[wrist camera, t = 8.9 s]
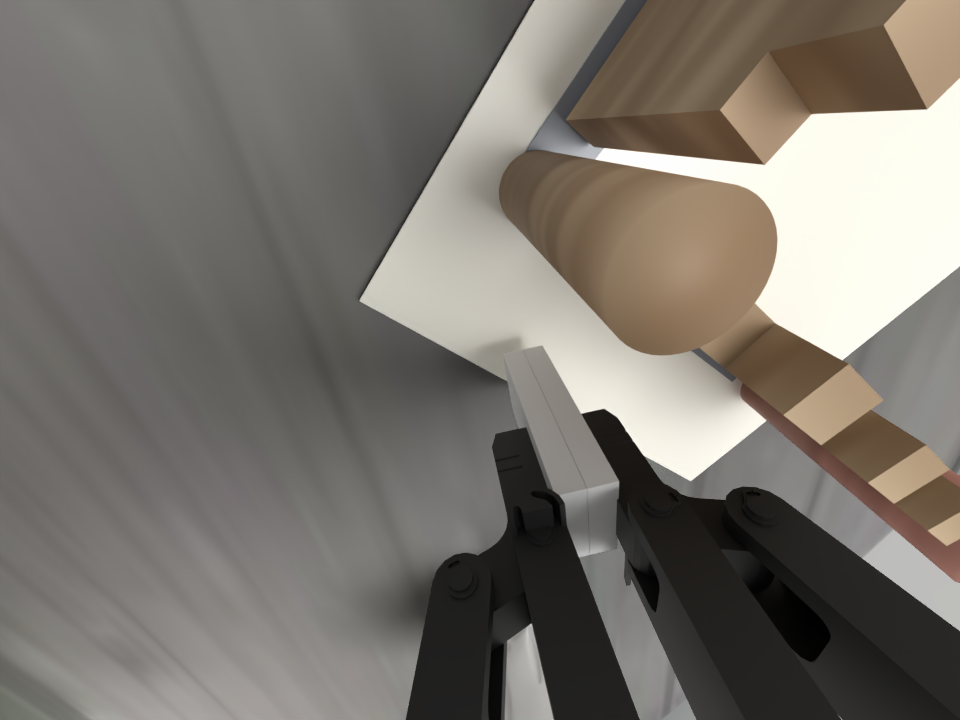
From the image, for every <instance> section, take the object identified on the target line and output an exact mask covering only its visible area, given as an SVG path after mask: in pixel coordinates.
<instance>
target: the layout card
mask: <svg viewBox="0 0 960 720" xmlns="http://www.w3.org/2000/svg"><path fill="white" fill-rule="evenodd" d="M646 1H647V0H534V1H533V3H532V5H531V7H530V8H529V10H528V12H527V13H526V15H525V17H524V19H523V20H522V22H521V24H520V25H519V27H518V29H517V31H516V32H515V34H514V36H513V37H512V39H511V41H510V43H509V44H508V46H507V48H506V49H505V51H504V53H503V55H502V56H501V58H500V60H499V61H498V63H497V65H496V67H495V68H494V70H493V72H492V73H491V75H490V77H489V79H488V80H487V82H486V84H485V85H484V87H483V89H482V91H481V92H480V94H479V96H478V97H477V99H476V101H475V103H474V104H473V106H472V108H471V109H470V111H469V113H468V115H467V116H466V118H465V120H464V121H463V123H462V125H461V127H460V128H459V130H458V132H457V133H456V135H455V137H454V139H453V140H452V142H451V144H450V145H449V147H448V149H447V151H446V152H445V154H444V156H443V157H442V159H441V161H440V163H439V164H438V166H437V168H436V169H435V171H434V173H433V175H432V176H431V178H430V180H429V181H428V183H427V185H426V187H425V188H424V190H423V192H422V193H421V195H420V197H419V199H418V200H417V202H416V204H415V205H414V207H413V209H412V211H411V212H410V214H409V216H408V217H407V219H406V221H405V223H404V224H403V226H402V228H401V229H400V231H399V233H398V235H397V236H396V238H395V240H394V241H393V243H392V245H391V247H390V248H389V250H388V252H387V253H386V255H385V257H384V259H383V260H382V262H381V264H380V265H379V267H378V269H377V271H376V272H375V274H374V276H373V277H372V279H371V281H370V283H369V284H368V286H367V288H366V289H365V291H364V293H363V295H362V296H361V298H360V302H362V303H364V304H366V305H367V306H369V307H371V308H373V309H375V310H377V311H378V312H380V313H382V314H384V315H386V316H388V317H390V318H391V319H393V320H395V321H397V322H399V323H401V324H402V325H404V326H406V327H408V328H410V329H412V330H413V331H415V332H417V333H419V334H421V335H423V336H425V337H426V338H428V339H430V340H432V341H434V342H436V343H437V344H439V345H441V346H443V347H445V348H447V349H448V350H450V351H452V352H454V353H456V354H458V355H459V356H461V357H463V358H465V359H467V360H469V361H471V362H472V363H474V364H476V365H478V366H480V367H482V368H483V369H485V370H487V371H489V372H491V373H493V374H494V375H496V376H498V377H500V378H502V379H504V380H506V381H507V375H506V369H505V363H504V357H503V354H505V353H510V352H514V351H519V350H523V349H528V348H532V347H537V346H541V345H543V347H544V349H545V351H546V352H547V354H548V356H549V358H550V359H551V361H552V363H553V365H554V367H555V368H556V370H557V372H558V374H559V375H560V377H561V379H562V381H563V382H564V384H565V386H566V388H567V390H568V391H569V393H570V395H571V397H572V398H573V400H574V402H575V404H576V406H577V407H578V409H579V411H580V413H581V414H582V413H587V412H591V411H595V410H600V409H606V410H607V411H608V412H610V413H611V414H613V415H614V416H616V417H617V418H618V419H619V420H620V422H621V423H622V425H623V426H624V428H625V429H626V432H628V434H629V435H630V437H631V438H632V440H633V442H635V444H636V445H637V447H638V448H639V450H640V451H641V453H642V454H643V455H644V456H646V457H647V458H649V459H651V460H653V461H655V462H657V463H658V464H660V465H662V466H664V467H666V468H668V469H669V470H671V471H673V472H675V473H677V474H679V475H680V476H682V477H684V478H686V479H688V480H690V481H692V480H693V479H694V478H695V477H697V476H698V475H699V474H700V473H702V472H703V471H704V470H705V469H707V468H708V467H709V466H710V465H712V464H713V463H714V462H715V461H717V460H718V459H719V458H720V457H722V456H723V455H724V454H725V453H727V452H728V451H729V450H730V449H732V448H733V447H734V446H735V445H737V444H738V443H739V442H740V441H742V440H743V439H744V438H745V437H747V436H748V435H749V434H750V433H752V432H753V431H754V430H755V429H757V428H758V427H759V426H760V425H762V424H763V423H764V422H765V421H767V420H766V419H764V418H763V417H762V416H761V415H760V414H759V413H757V412H756V411H755V410H754V409H753V408H752V407H750V406H749V405H748V404H747V403H746V402H744V401H743V400H742V398H741V395H740V390H741V386H742V384H743V383H742V382H741V381H740V380H739V379H737V378H736V377H735V376H734V375H732V374H731V373H730V372H729V371H727V370H726V369H725V368H724V367H722V366H721V365H720V364H719V363H717V362H716V361H715V360H714V359H712V358H711V357H710V356H709V355H707V354H706V353H705V352H704V351H702V350H701V349H700V348H697V349H694V350H691V351H688V352H684V353H680V354H674V355H661V356H660V355H650V354H645V353H641V352H639V351H636V350H634V349H632V348H630V347H629V346H627V345H626V344H624V343H623V342H622V341H621V340H620V339H619V338H618V337H617V336H616V335H615V334H614V333H613V332H612V331H611V330H610V329H609V327H608V326H607V325H606V324H605V323H604V322H603V321H602V320H601V319H600V318H599V317H598V316H597V314H596V313H595V312H594V311H593V310H592V309H591V308H590V307H589V306H588V305H587V304H586V302H585V301H584V300H583V299H582V298H581V297H580V296H579V295H578V294H577V293H576V292H575V291H574V289H573V288H572V287H571V286H570V285H569V284H568V283H567V282H566V281H565V280H564V279H563V277H562V276H561V275H560V274H559V273H558V272H557V271H556V270H555V269H554V268H553V267H552V266H551V264H550V263H549V262H548V261H547V260H546V259H545V258H544V257H543V256H542V255H541V254H540V252H539V251H538V250H537V249H536V248H535V247H534V246H533V245H532V244H531V243H530V242H529V241H528V239H527V238H526V237H525V236H524V235H523V234H522V233H521V232H520V231H519V230H518V229H517V227H516V226H515V225H514V224H513V223H512V222H511V221H510V220H509V219H508V218H507V216H506V215H505V213H504V212H503V210H502V207H501V204H500V200H499V186H500V182H501V178H502V176H503V173H504V171H505V170H506V168H507V167H508V165H509V164H510V163H511V162H512V161H513V160H514V159H515V158H516V157H518V156H519V155H521V154H523V153H526V152H529V151H533V150H544V151H550V152H556V153H561V154H567V155H572V156H578V157H584V158H589V159H595V160H601V161H606V162H612V163H617V164H623V165H629V166H634V167H640V168H646V169H651V170H657V171H662V172H668V173H674V174H679V175H685V176H691V177H696V178H702V179H707V180H713V181H719V182H724V183H730V184H735V185H739V186H742V187H744V188H747V189H749V190H750V191H752V192H754V193H755V194H757V195H758V196H759V197H760V198H761V199H762V200H763V201H764V202H765V203H766V205H767V206H768V208H769V209H770V211H771V213H772V216H773V218H774V221H775V225H776V229H777V239H778V240H777V253H776V258H775V263H774V266H773V269H772V272H771V275H770V277H769V280H768V282H767V284H766V286H765V288H764V289H763V291H762V293H761V295H760V296H759V298H758V299H757V301H756V302H755V304H756V305H757V306H758V307H759V308H760V309H761V310H762V311H763V312H764V313H765V314H766V315H767V316H768V317H769V318H771V319H772V320H773V321H774V322H775V323H776V324H778V325H779V326H781V327H783V328H785V329H787V330H788V331H790V332H792V333H794V334H796V335H797V336H799V337H801V338H803V339H805V340H806V341H808V342H810V343H812V344H814V345H815V346H817V347H819V348H821V349H823V350H824V351H826V352H828V353H830V354H832V355H833V356H835V357H837V358H839V359H841V360H843V359H844V358H845V357H847V356H848V355H849V354H850V353H852V352H853V351H854V350H855V349H857V348H858V347H859V346H860V345H862V344H863V343H864V342H865V341H867V340H868V339H869V338H870V337H872V336H873V335H874V334H875V333H877V332H878V331H879V330H881V329H882V328H883V327H884V326H886V325H887V324H888V323H889V322H891V321H892V320H893V319H894V318H896V317H897V316H898V315H899V314H901V313H902V312H903V311H904V310H906V309H907V308H908V307H909V306H911V305H912V304H913V303H914V302H916V301H917V300H918V299H919V298H921V297H922V296H923V295H924V294H926V293H927V292H928V291H929V290H931V289H932V288H933V287H934V286H936V285H937V284H938V283H939V282H941V281H942V280H943V279H944V278H946V277H947V276H948V275H949V274H951V273H952V272H953V271H954V270H956V269H957V268H958V267H959V266H960V78H959V79H958V80H957V81H956V82H955V83H954V84H953V85H952V86H951V87H950V88H949V89H948V90H947V91H946V92H945V93H944V94H943V95H942V96H941V97H940V98H939V99H938V100H937V101H936V102H935V103H934V104H933V105H932V106H930V107H929V108H928V109H926V110H901V111H876V112H851V113H826V114H811V115H810V116H809V118H808V119H807V120H806V121H805V122H804V123H803V124H802V125H801V126H800V127H799V128H798V129H797V131H796V132H795V133H794V134H793V135H792V136H791V137H790V138H789V139H788V140H787V141H786V143H785V144H784V145H783V146H782V147H781V148H780V149H779V150H778V151H777V152H776V153H775V154H774V156H773V157H772V158H771V159H770V160H769V161H768V162H767V163H766V164H765V165H760V164H751V163H741V162H732V161H722V160H713V159H703V158H694V157H684V156H674V155H665V154H655V153H646V152H636V151H627V150H617V149H608V148H598V147H593V146H592V145H591V144H590V143H589V142H588V141H587V140H586V139H585V138H583V137H582V136H581V135H580V134H579V133H578V132H577V131H576V130H575V129H574V128H573V127H572V126H571V125H570V124H569V123H568V122H567V121H566V119H567V117H568V116H569V114H570V113H571V111H572V110H573V108H574V107H575V105H576V104H577V102H578V101H579V100H580V98H581V97H582V95H583V94H584V92H585V91H586V89H587V88H588V86H589V85H590V83H591V82H592V80H593V79H594V78H595V76H596V75H597V73H598V72H599V70H600V69H601V67H602V66H603V64H604V63H605V61H606V60H607V59H608V57H609V56H610V54H611V53H612V51H613V50H614V48H615V47H616V45H617V44H618V42H619V41H620V39H621V38H622V37H623V35H624V34H625V32H626V31H627V29H628V28H629V26H630V25H631V23H632V22H633V20H634V19H635V18H636V16H637V15H638V13H639V12H640V10H641V9H642V7H643V6H644V4H645V3H646ZM507 382H508V381H507Z"/></svg>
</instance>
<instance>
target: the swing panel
mask: <svg viewBox="0 0 960 720" xmlns="http://www.w3.org/2000/svg"><path fill="white" fill-rule="evenodd" d="M699 348H700V349H701V350H702V351H704V352H705V353H706V354H707V355H709V356H710V357H711V358H712V359H714V360H715V361H716V362H717V363H719V364H720V365H721V366H722V367H724V368H725V369H726V370H727V371H729V372H730V373H731V374H732V375H734V376H735V377H736V378H737V379H739V380H740V381H741V382H742V383H743V384H742V386H741V390H740V395H741V398H742V400H743V401H744V402H746V403H747V404H748V405H749V406H750V407H752V408H753V409H754V410H755V411H756V412H757V413H759V414H760V415H761V416H762V417H763V418H764V419H766V420H767V421H768V422H769V423H770V424H771V425H773V426H774V427H775V428H776V429H777V430H778V431H780V432H781V433H782V434H783V435H784V436H785V437H787V438H788V439H789V440H790V441H791V442H792V443H794V444H795V445H796V446H797V447H798V448H799V449H801V450H802V451H803V452H804V453H805V454H806V455H808V456H809V457H810V458H811V459H812V460H814V461H815V462H816V463H817V464H818V465H819V466H821V467H822V468H823V469H824V470H825V471H826V472H828V473H829V474H830V475H831V476H832V477H833V478H835V479H836V480H837V481H838V482H839V483H840V484H842V485H843V486H844V487H845V488H846V489H847V490H849V491H850V492H851V493H852V494H853V495H854V496H856V497H857V498H858V499H859V500H860V501H861V502H863V503H864V504H865V505H866V506H867V507H868V508H870V509H871V510H872V511H873V512H874V513H875V514H877V515H878V516H879V517H880V518H881V519H883V520H884V521H885V522H886V523H887V524H888V525H890V526H891V527H892V528H893V529H894V530H895V531H897V532H898V533H899V534H900V535H901V536H902V537H904V538H905V539H906V540H907V541H908V542H909V543H911V544H912V545H913V546H914V547H915V548H917V549H918V550H919V551H920V552H921V553H922V554H923V555H925V556H926V557H927V558H928V559H929V560H930V561H932V562H933V563H934V564H935V565H936V566H937V567H939V568H940V569H941V570H942V571H943V572H945V573H946V574H947V575H948V576H949V577H950V578H952V579H953V580H954V581H956V582H959V583H960V476H959V475H958V474H956V473H955V472H953V471H951V470H950V469H949V468H948V467H947V466H946V465H945V464H944V463H943V462H942V461H941V460H940V459H939V458H938V457H937V456H936V455H935V454H934V453H933V451H932V450H931V449H930V448H929V447H928V446H927V445H926V444H924V443H922V442H921V441H919V440H918V439H916V438H914V437H913V436H911V435H910V434H908V433H907V432H905V431H903V430H902V429H900V428H899V427H897V426H895V425H894V424H892V423H891V422H889V421H887V420H886V419H884V418H883V417H881V416H880V415H878V414H876V413H875V412H873V411H872V410H871V409H872V408H874V407H875V406H876V405H878V404H879V403H881V402H882V401H883V399H882V398H881V397H880V396H879V395H878V394H877V393H876V392H875V391H874V390H873V389H872V388H871V387H870V386H869V385H868V384H867V383H866V382H865V380H864V379H863V378H862V377H861V376H860V375H859V374H858V373H857V372H856V371H855V370H854V369H853V368H852V367H851V366H850V365H849V364H848V363H846V362H844V361H842V360H841V359H839V358H837V357H835V356H833V355H832V354H830V353H828V352H826V351H824V350H823V349H821V348H819V347H817V346H815V345H814V344H812V343H810V342H808V341H806V340H805V339H803V338H801V337H799V336H797V335H796V334H794V333H792V332H790V331H788V330H787V329H785V328H783V327H781V326H779V325H778V324H776V323H775V322H774V321H773V320H772V319H771V318H769V317H768V316H767V315H766V314H765V313H764V312H763V311H762V310H761V309H760V308H759V307H758V306H757V305H756V304H754V305H753V306H752V307H751V309H750V310H749V311H748V312H747V313H746V314H745V315H744V316H743V317H742V318H741V320H740V321H739V322H737V323H736V324H735V325H734V326H733V327H732V328H731V329H729V330H728V331H727V332H725V333H724V334H723V335H721V336H720V337H718V338H716V339H715V340H713V341H711V342H710V343H708V344H706V345H704V346H701V347H699Z"/></svg>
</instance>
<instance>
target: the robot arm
mask: <svg viewBox="0 0 960 720" xmlns="http://www.w3.org/2000/svg"><path fill="white" fill-rule="evenodd" d="M503 357H504V363H505V369H506V375H507V381H508V387H509V393H510V399H511V405H512V410H513V413H514V416H515V419H516V422H517V425H518V428H519V429H516V430H511V431H507V432H502V433H498V434H496V435H495V439H494V442H493V446H492V449H493V453H494V458H495V462H496V467H497V472H498V476H499V481H500V485H501V490H502V494H503V498H504V503H505V507H506V512H507V517H508V523H507V528H506V531H505V533H504V535H503V536H502V538H501V539H500V540H499V541H498V543H496V544H495V545H494V546H492V547H491V548H490V549H488V550H486V551H485V552H483V553H481V554H480V555H478V556H477V555H474V554H470V553H461V554H456V555H454V556H452V557H450V558H449V559H447V560H445V561H444V563H443V564H442V565H441V566H440V567H439V569H438V570H437V572H436V575H435V577H434V580H433V584H432V589H431V594H430V599H429V604H428V609H427V614H426V619H425V625H424V630H423V635H422V640H421V645H420V650H419V655H418V660H417V665H416V671H415V676H414V681H413V686H412V691H411V696H410V701H409V706H408V712H407V717H406V720H505V694H506V665H507V641H508V640H509V639H510V638H512V637H513V636H515V635H516V634H517V633H519V632H520V631H522V630H523V629H524V628H526V627H527V626H529V625H530V624H531V623H532V627H533V632H534V636H535V640H536V645H537V649H538V653H539V658H540V662H541V667H542V671H543V675H544V680H545V684H546V688H547V693H548V697H549V702H550V706H551V710H552V715H553V719H554V720H640V719H639V717H638V714H637V711H636V709H635V706H634V703H633V701H632V698H631V695H630V693H629V690H628V687H627V685H626V682H625V679H624V677H623V674H622V671H621V669H620V666H619V663H618V661H617V658H616V655H615V653H614V650H613V647H612V645H611V642H610V639H609V637H608V634H607V631H606V629H605V626H604V623H603V621H602V618H601V615H600V613H599V610H598V607H597V605H596V602H595V599H594V597H593V594H592V591H591V589H590V586H589V583H588V581H587V578H586V575H585V573H584V570H583V567H582V565H581V562H580V559H579V557H582V556H587V555H589V554H590V555H591V554H595V553H599V552H604V551H608V550H612V549H616V548H617V537H618V539H619V541H620V543H621V545H622V547H623V550H624V552H625V569H624V578H625V582H626V586H627V585H630V584H631V579H632V581H633V584H634V586H635V588H636V590H637V592H638V594H639V597H640V599H641V601H642V603H643V605H644V607H645V609H646V612H647V614H648V616H649V618H650V620H651V622H652V625H653V627H654V629H655V631H656V633H657V635H658V638H659V640H660V642H661V644H662V646H663V648H664V650H665V653H666V655H667V657H668V659H669V661H670V663H671V666H672V668H673V670H674V672H675V674H676V676H677V678H678V681H679V683H680V685H681V687H682V689H683V691H684V694H685V696H686V698H687V700H688V702H689V704H690V706H691V709H692V710H693V713H694V715H695V717H696V719H697V720H841V719H840V717H841V718H842V720H960V631H959V630H957V629H956V628H955V627H953V626H952V625H951V624H949V623H948V622H946V621H945V620H944V619H942V618H941V617H940V616H939V615H937V614H936V613H934V612H933V611H932V610H931V609H929V608H928V607H927V606H925V605H924V604H922V603H921V602H920V601H918V600H917V599H915V598H914V597H913V596H912V595H910V594H909V593H908V592H906V591H905V590H904V589H902V588H901V587H900V586H898V585H897V584H896V583H894V582H893V581H892V580H890V579H889V578H888V577H886V576H885V575H884V574H882V573H880V572H879V571H878V570H877V569H875V568H874V567H873V566H871V565H870V564H869V563H867V562H866V561H865V560H863V559H862V558H861V557H859V556H858V555H857V554H855V553H854V552H853V551H851V550H850V549H849V548H847V547H846V546H845V545H843V544H842V543H840V542H839V541H838V540H836V539H835V538H834V537H832V536H831V535H830V534H828V533H827V532H826V531H824V530H823V529H822V528H820V527H819V526H818V525H816V524H815V523H814V522H812V521H811V520H810V519H808V518H807V517H806V516H804V515H803V514H801V513H800V512H799V511H797V510H796V509H795V508H793V507H792V506H791V505H789V504H788V503H787V502H785V501H784V500H783V499H781V498H779V497H778V496H776V495H774V494H773V493H771V492H769V491H766V490H763V489H759V488H756V487H740V488H737V489H733V490H732V491H731V492H730V493H729V494H728V495H727V496H726V500H716V499H700V498H693V497H687V496H684V495H681V494H680V493H679V492H678V491H677V490H675V489H673V488H671V487H670V486H668V485H666V484H663V482H662V481H661V480H660V479H659V478H658V476H657V475H656V473H655V472H654V470H653V469H652V467H651V466H650V464H649V463H648V462H647V460H646V459H645V457H644V456H643V454H642V453H641V451H640V450H639V448H638V447H637V445H636V444H635V442H633V440H632V438H631V437H630V435H629V434H628V432H626V429H625V428H624V426H623V425H622V423H621V422H620V420H619V419H618V418H617V417H616V416H614V415H613V414H611V413H610V412H608V411H607V410H606V409H600V410H595V411H591V412H587V413H582V414H581V413H580V411H579V409H578V407H577V406H576V404H575V402H574V400H573V398H572V397H571V395H570V393H569V391H568V390H567V388H566V386H565V384H564V382H563V381H562V379H561V377H560V375H559V374H558V372H557V370H556V368H555V367H554V365H553V363H552V361H551V359H550V358H549V356H548V354H547V352H546V351H545V349H544V347H543V345H541V346H537V347H532V348H528V349H523V350H519V351H514V352H510V353H505V354H503ZM838 715H839V716H840V717H839V716H838Z"/></svg>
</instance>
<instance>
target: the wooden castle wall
mask: <svg viewBox="0 0 960 720" xmlns="http://www.w3.org/2000/svg"><path fill="white" fill-rule="evenodd" d="M959 78H960V0H647V1H646V3H645V4H644V6H643V7H642V9H641V10H640V12H639V13H638V15H637V16H636V18H635V19H634V20H633V22H632V23H631V25H630V26H629V28H628V29H627V31H626V32H625V34H624V35H623V37H622V38H621V39H620V41H619V42H618V44H617V45H616V47H615V48H614V50H613V51H612V53H611V54H610V56H609V57H608V59H607V60H606V61H605V63H604V64H603V66H602V67H601V69H600V70H599V72H598V73H597V75H596V76H595V78H594V79H593V80H592V82H591V83H590V85H589V86H588V88H587V89H586V91H585V92H584V94H583V95H582V97H581V98H580V100H579V101H578V102H577V104H576V105H575V107H574V108H573V110H572V111H571V113H570V114H569V116H568V117H567V119H566V121H567V122H568V123H569V124H570V125H571V126H572V127H573V128H574V129H575V130H576V131H577V132H578V133H579V134H580V135H581V136H582V137H583V138H585V139H586V140H587V141H588V142H589V143H590V144H591V145H592V146H593V147H598V148H608V149H617V150H627V151H636V152H646V153H655V154H665V155H674V156H684V157H694V158H703V159H713V160H722V161H732V162H741V163H751V164H760V165H765V164H766V163H767V162H768V161H769V160H770V159H771V158H772V157H773V156H774V154H775V153H776V152H777V151H778V150H779V149H780V148H781V147H782V146H783V145H784V144H785V143H786V141H787V140H788V139H789V138H790V137H791V136H792V135H793V134H794V133H795V132H796V131H797V129H798V128H799V127H800V126H801V125H802V124H803V123H804V122H805V121H806V120H807V119H808V118H809V116H810V115H811V114H826V113H851V112H876V111H901V110H926V109H928V108H929V107H930V106H932V105H933V104H934V103H935V102H936V101H937V100H938V99H939V98H940V97H941V96H942V95H943V94H944V93H945V92H946V91H947V90H948V89H949V88H950V87H951V86H952V85H953V84H954V83H955V82H956V81H957V80H958V79H959ZM499 200H500V204H501V207H502V210H503V212H504V213H505V215H506V216H507V218H508V219H509V220H510V221H511V222H512V223H513V224H514V225H515V226H516V227H517V229H518V230H519V231H520V232H521V233H522V234H523V235H524V236H525V237H526V238H527V239H528V241H529V242H530V243H531V244H532V245H533V246H534V247H535V248H536V249H537V250H538V251H539V252H540V254H541V255H542V256H543V257H544V258H545V259H546V260H547V261H548V262H549V263H550V264H551V266H552V267H553V268H554V269H555V270H556V271H557V272H558V273H559V274H560V275H561V276H562V277H563V279H564V280H565V281H566V282H567V283H568V284H569V285H570V286H571V287H572V288H573V289H574V291H575V292H576V293H577V294H578V295H579V296H580V297H581V298H582V299H583V300H584V301H585V302H586V304H587V305H588V306H589V307H590V308H591V309H592V310H593V311H594V312H595V313H596V314H597V316H598V317H599V318H600V319H601V320H602V321H603V322H604V323H605V324H606V325H607V326H608V327H609V329H610V330H611V331H612V332H613V333H614V334H615V335H616V336H617V337H618V338H619V339H620V340H621V341H622V342H623V343H624V344H626V345H627V346H629V347H630V348H632V349H634V350H636V351H639V352H641V353H645V354H650V355H660V356H661V355H674V354H680V353H684V352H688V351H691V350H694V349H697V348H699V347H701V346H704V345H706V344H708V343H710V342H711V341H713V340H715V339H716V338H718V337H720V336H721V335H723V334H724V333H725V332H727V331H728V330H729V329H731V328H732V327H733V326H734V325H735V324H736V323H737V322H739V321H740V320H741V318H742V317H743V316H744V315H745V314H746V313H747V312H748V311H749V310H750V309H751V307H752V306H753V305H754V304H755V302H756V301H757V299H758V298H759V296H760V295H761V293H762V291H763V289H764V288H765V286H766V284H767V282H768V280H769V277H770V275H771V272H772V269H773V266H774V263H775V258H776V253H777V240H778V239H777V229H776V225H775V221H774V218H773V216H772V213H771V211H770V209H769V208H768V206H767V205H766V203H765V202H764V201H763V200H762V199H761V198H760V197H759V196H758V195H757V194H755V193H754V192H752V191H750V190H749V189H747V188H744V187H742V186H739V185H735V184H730V183H724V182H719V181H713V180H707V179H702V178H696V177H691V176H685V175H679V174H674V173H668V172H662V171H657V170H651V169H646V168H640V167H634V166H629V165H623V164H617V163H612V162H606V161H601V160H595V159H589V158H584V157H578V156H572V155H567V154H561V153H556V152H550V151H544V150H533V151H529V152H526V153H523V154H521V155H519V156H518V157H516V158H515V159H514V160H513V161H512V162H511V163H510V164H509V165H508V167H507V168H506V170H505V171H504V173H503V176H502V178H501V182H500V186H499Z"/></svg>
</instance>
